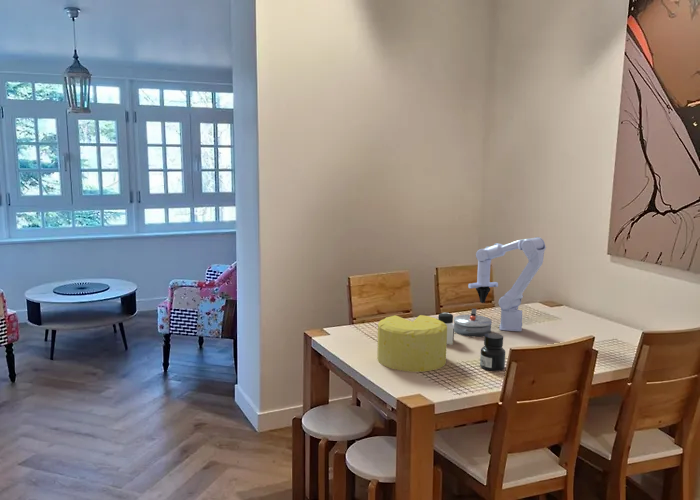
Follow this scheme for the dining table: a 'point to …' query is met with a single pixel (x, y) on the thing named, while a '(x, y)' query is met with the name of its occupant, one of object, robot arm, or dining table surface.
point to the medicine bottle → (448, 326)
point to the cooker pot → (471, 330)
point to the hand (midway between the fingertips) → (482, 302)
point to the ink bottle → (492, 352)
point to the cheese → (412, 343)
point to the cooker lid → (472, 320)
